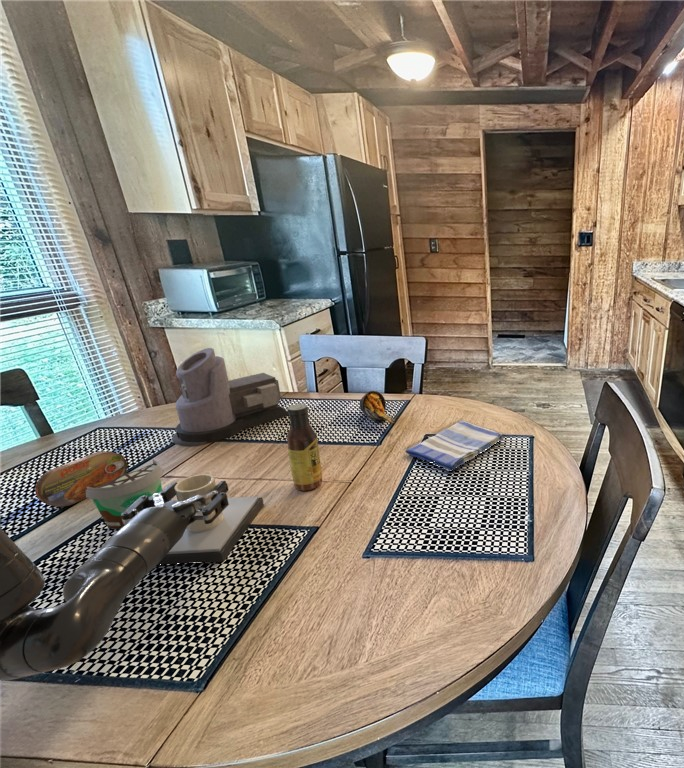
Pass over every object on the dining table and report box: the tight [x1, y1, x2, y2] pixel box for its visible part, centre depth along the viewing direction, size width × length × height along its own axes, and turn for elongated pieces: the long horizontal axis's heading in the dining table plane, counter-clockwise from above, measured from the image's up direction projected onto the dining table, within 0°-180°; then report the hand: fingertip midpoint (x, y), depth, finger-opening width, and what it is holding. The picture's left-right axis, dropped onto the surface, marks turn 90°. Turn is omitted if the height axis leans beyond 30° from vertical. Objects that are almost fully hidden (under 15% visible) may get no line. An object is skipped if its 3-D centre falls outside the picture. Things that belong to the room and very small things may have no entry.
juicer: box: [171, 347, 289, 447], centre depth 123 cm, size 30×16×24 cm, turn 145°
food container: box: [86, 459, 164, 530], centre depth 84 cm, size 12×6×10 cm, turn 160°
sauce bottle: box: [286, 403, 323, 492], centre depth 95 cm, size 7×6×20 cm
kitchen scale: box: [157, 496, 264, 565], centre depth 81 cm, size 16×17×3 cm
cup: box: [174, 473, 223, 532], centre depth 80 cm, size 6×6×9 cm
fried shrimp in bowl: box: [359, 390, 396, 424], centre depth 133 cm, size 9×11×18 cm
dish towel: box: [405, 420, 505, 470], centre depth 118 cm, size 17×24×3 cm
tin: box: [34, 451, 128, 508], centre depth 91 cm, size 15×3×8 cm, turn 161°
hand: (200, 485), depth 80 cm, fingers open, 8 cm apart
